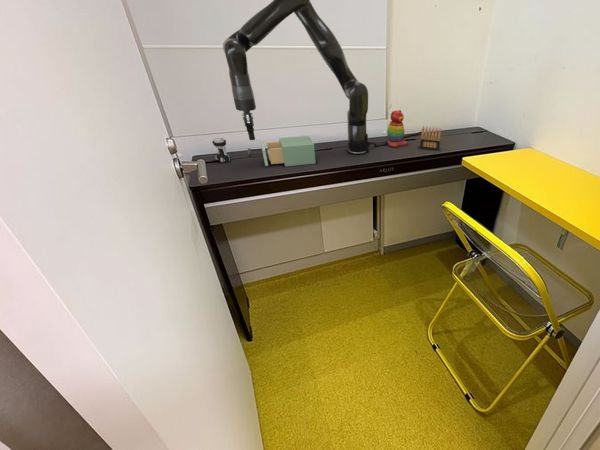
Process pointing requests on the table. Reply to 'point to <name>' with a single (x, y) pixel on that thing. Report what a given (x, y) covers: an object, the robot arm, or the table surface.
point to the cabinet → (298, 151)
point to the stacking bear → (396, 130)
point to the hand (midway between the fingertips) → (252, 139)
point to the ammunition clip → (430, 139)
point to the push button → (221, 150)
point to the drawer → (270, 152)
